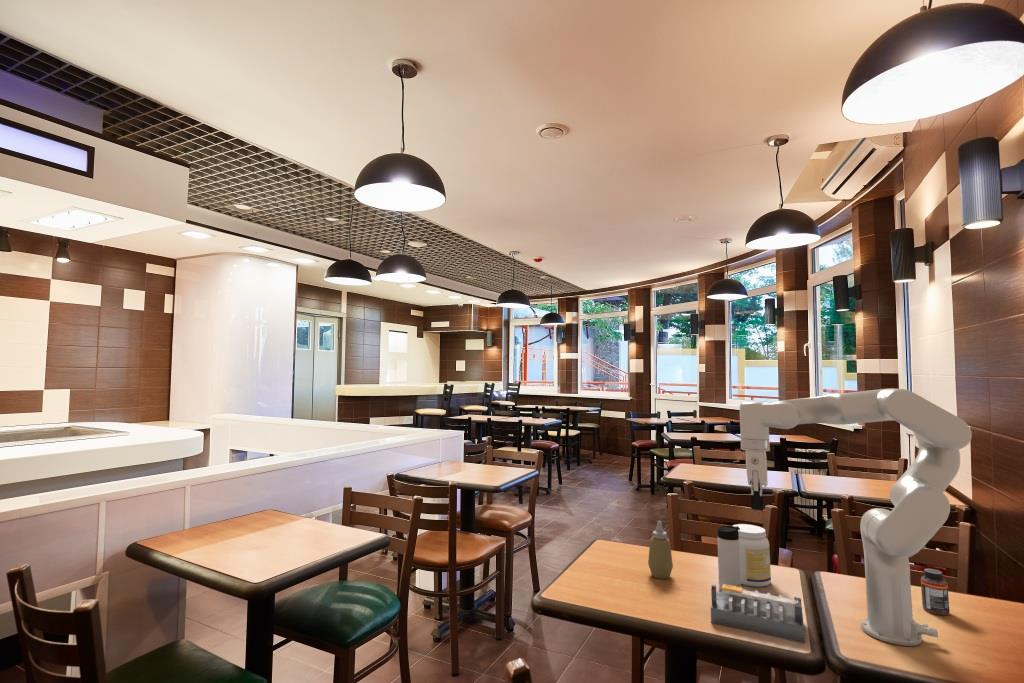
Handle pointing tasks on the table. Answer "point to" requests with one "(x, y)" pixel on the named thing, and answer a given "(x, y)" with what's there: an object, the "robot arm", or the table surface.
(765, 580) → the supplement tub
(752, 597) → the white orange stick
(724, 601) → the heatsink block
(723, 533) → the travel mug
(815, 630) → the table surface
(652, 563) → the squeeze bottle
